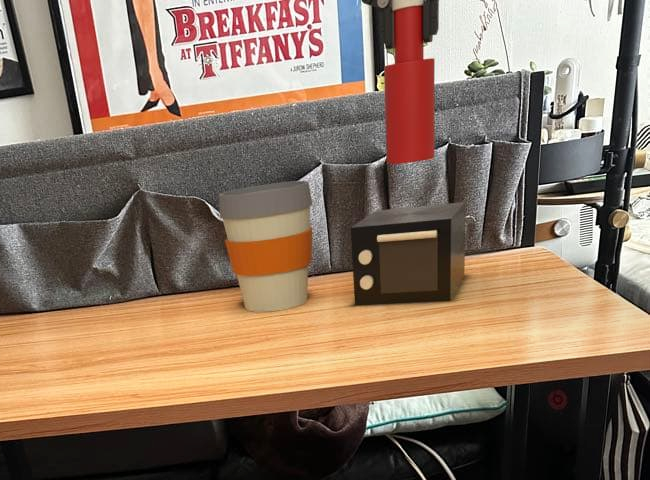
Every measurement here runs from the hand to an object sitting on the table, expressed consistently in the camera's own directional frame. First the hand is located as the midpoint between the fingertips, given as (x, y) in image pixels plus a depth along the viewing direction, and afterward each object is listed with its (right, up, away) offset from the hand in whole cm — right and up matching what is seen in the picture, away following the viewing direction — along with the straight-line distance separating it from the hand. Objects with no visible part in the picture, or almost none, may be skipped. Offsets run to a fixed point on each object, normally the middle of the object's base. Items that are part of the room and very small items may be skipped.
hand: (409, 44), depth 81 cm
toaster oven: (+4, -23, +16) cm, 28 cm away
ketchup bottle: (+1, -10, +6) cm, 12 cm away
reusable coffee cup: (-14, -22, +22) cm, 34 cm away
